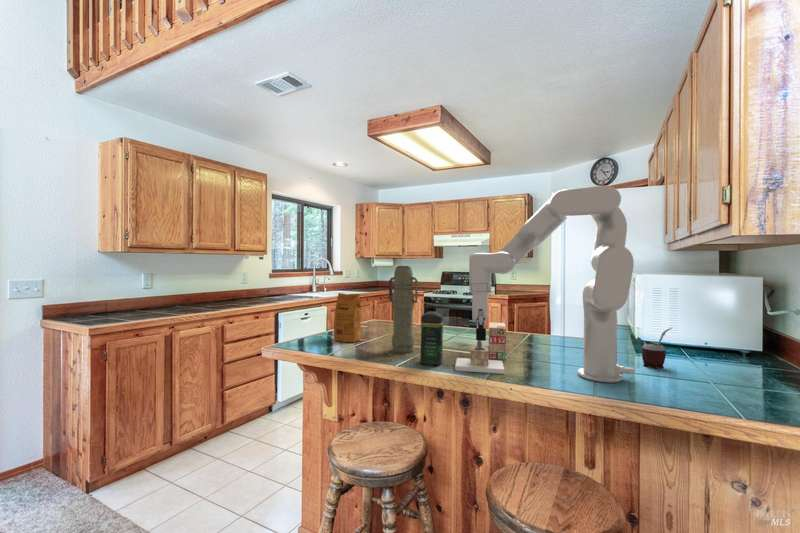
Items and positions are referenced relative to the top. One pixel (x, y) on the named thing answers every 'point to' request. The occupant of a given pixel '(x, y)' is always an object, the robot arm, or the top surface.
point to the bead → (479, 356)
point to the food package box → (497, 341)
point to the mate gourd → (654, 354)
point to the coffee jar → (431, 338)
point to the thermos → (403, 309)
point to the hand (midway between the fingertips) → (481, 337)
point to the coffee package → (347, 318)
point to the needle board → (492, 367)
